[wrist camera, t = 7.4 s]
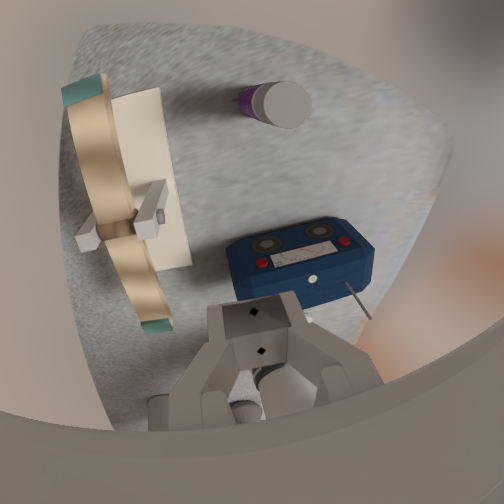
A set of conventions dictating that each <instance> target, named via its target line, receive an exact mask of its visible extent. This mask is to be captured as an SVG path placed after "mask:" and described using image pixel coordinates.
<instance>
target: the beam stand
mask: <svg viewBox="0 0 504 504" xmlns="http://www.w3.org/2000/svg"><path fill="white" fill-rule="evenodd" d="M111 103H112V109H113V115H114V120H115V126H116V131H117V136H118V141H119V146H120V150H121V155H122V159H123V163H124V168H125V172H126V176H127V180H128V184H129V188H130V191H131V195H132V199H133V202H134V206H135V208H136V209H138V214H137V216H136V218H135V221H134V223H133V224H134V227H135V230H136V234H137V237H138V240H139V241H141V240H145V242H146V245H147V248H148V251H149V254H150V257H151V260H152V263H153V266H154V269H155V271H159V270H165V269H171V268H177V267H183V266H189V265H193V261H192V257H191V252H190V248H189V244H188V240H187V235H186V231H185V226H184V222H183V217H182V213H181V208H180V203H179V198H178V193H177V188H176V183H175V178H174V173H173V167H172V162H171V156H170V150H169V145H168V139H167V132H166V126H165V119H164V113H163V106H162V98H161V91H160V87H157V88H153V89H149V90H144V91H140V92H137V93H133V94H129V95H125V96H122V97H119V98H115V99H112V100H111ZM75 239H76V241H77V244H78V246H79V248H80V251H81V253H82V252H87V251H91V250H96V249H97V247H98V245H99V244H100V242H101V239H100V237H99V234H98V230H97V219H96V217H95V214H94V211H93V212H92V213H91V215H90V216H89V217H88V219H87V220H86V221H85V223H84V224H83V225H82V227H79V229H78V233H77V234H76V235H75Z"/></svg>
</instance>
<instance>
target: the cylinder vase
mask: <svg viewBox="0 0 504 504" xmlns="http://www.w3.org/2000/svg"><path fill="white" fill-rule="evenodd" d="M154 431H169V395H160V396H155V397H153V398H151V399H150V400H149V402H148V432H154Z"/></svg>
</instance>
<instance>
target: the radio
mask: <svg viewBox="0 0 504 504" xmlns="http://www.w3.org/2000/svg"><path fill="white" fill-rule="evenodd" d="M374 251H375V248H374V247H373V246H372V245H371V244H370V243H369V242H368V241H367V240H366V239H365V238H364V237H363V236H362V235H361V234H360V233H359V232H358V231H357V230H356V229H355V228H354V227H353V226H352V225H351V224H350V223H349V222H348V221H347V220H344V219H338V218H331V219H326V220H322V221H318V222H313V223H309V224H305V225H301V226H296V227H292V228H288V229H284V230H280V231H275V232H271V233H267V234H263V235H259V236H255V237H250V238H246V239H242V240H239V241H237V242H235V243H234V244H232V245H231V246H229V247H228V248H226V252H227V257H228V262H229V267H230V272H231V277H232V282H233V286H234V290H235V294H236V297H237V301H243V300H250V299H255V298H260V297H265V296H270V295H275V294H279V293H284V292H288V291H294V292H295V294H296V297H297V299H298V301H299V303H300V305H301V308H302V310H304V309H307V308H311V307H314V306H317V305H321V304H324V303H327V302H330V301H334V300H337V299H340V298H343V297H346V296H349V295H352V294H353V296H354V297H355V299H356V300H357V302H358V303H359V305H360V306H361V308H362V309H363V311H364V312H365V314H366V315H367V317H368V318H369V320H371V319H372V318H371V316H370V315H369V313H368V312H367V310H366V309H365V307H364V306H363V304H362V303H361V301H360V300H359V298H358V297H357V295H356V294H355V293H358V292H361V291H363V290H364V289H365V288H366V286H367V285H368V284H369V283H370V282H371V275H372V268H373V259H374Z"/></svg>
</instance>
